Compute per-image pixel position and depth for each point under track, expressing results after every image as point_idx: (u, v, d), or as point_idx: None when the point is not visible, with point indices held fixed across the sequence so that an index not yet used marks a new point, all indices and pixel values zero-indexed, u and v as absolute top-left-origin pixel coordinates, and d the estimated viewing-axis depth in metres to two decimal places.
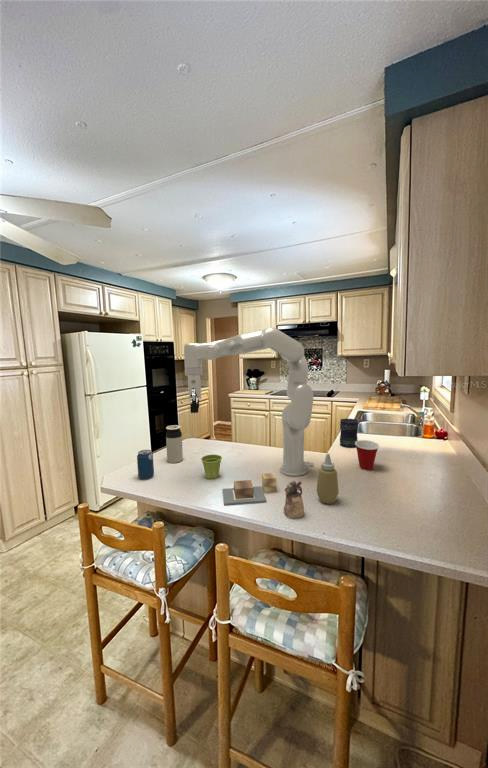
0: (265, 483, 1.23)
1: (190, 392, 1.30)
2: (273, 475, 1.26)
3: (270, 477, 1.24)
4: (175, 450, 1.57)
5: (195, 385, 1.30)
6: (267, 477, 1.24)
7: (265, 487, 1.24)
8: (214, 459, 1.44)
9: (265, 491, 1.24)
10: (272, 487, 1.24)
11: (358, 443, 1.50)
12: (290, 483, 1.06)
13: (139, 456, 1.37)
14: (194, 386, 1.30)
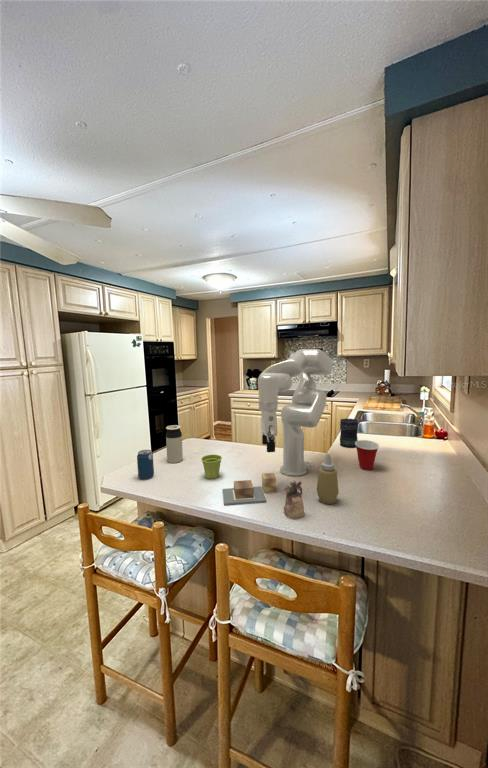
0: (265, 483, 1.23)
1: (267, 430, 1.18)
2: (273, 475, 1.26)
3: (270, 477, 1.24)
4: (175, 450, 1.57)
5: (272, 422, 1.18)
6: (267, 477, 1.24)
7: (265, 487, 1.24)
8: (214, 459, 1.44)
9: (265, 491, 1.24)
10: (272, 487, 1.24)
11: (358, 443, 1.50)
12: (290, 483, 1.06)
13: (139, 456, 1.37)
14: (271, 423, 1.18)
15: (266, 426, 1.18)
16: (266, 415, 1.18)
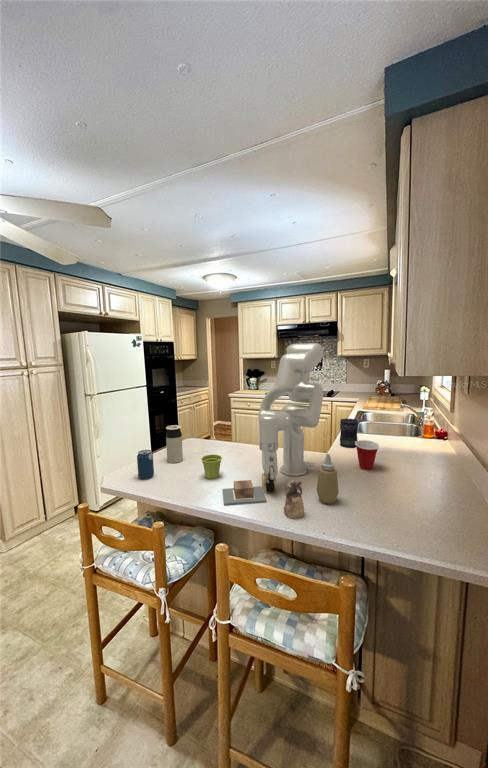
0: (265, 483, 1.23)
1: (267, 473, 1.21)
2: None
3: None
4: (175, 450, 1.57)
5: (273, 462, 1.20)
6: None
7: (265, 487, 1.24)
8: (214, 459, 1.44)
9: (265, 491, 1.24)
10: None
11: (358, 443, 1.50)
12: (290, 483, 1.06)
13: (139, 456, 1.37)
14: (272, 463, 1.20)
15: (267, 466, 1.20)
16: (267, 456, 1.20)
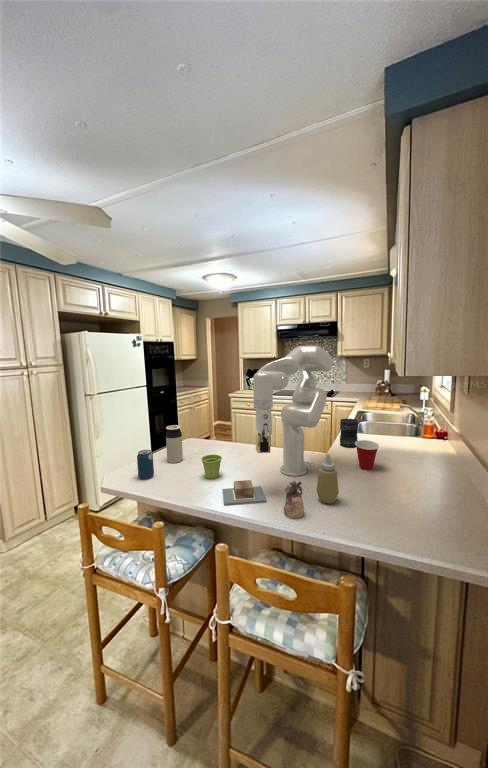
0: (259, 443, 1.20)
1: (261, 431, 1.17)
2: None
3: None
4: (175, 450, 1.57)
5: (267, 420, 1.17)
6: None
7: (259, 447, 1.20)
8: (214, 459, 1.44)
9: (259, 451, 1.20)
10: None
11: (358, 443, 1.50)
12: (290, 483, 1.06)
13: (139, 456, 1.37)
14: (266, 421, 1.17)
15: (261, 424, 1.17)
16: (261, 413, 1.17)
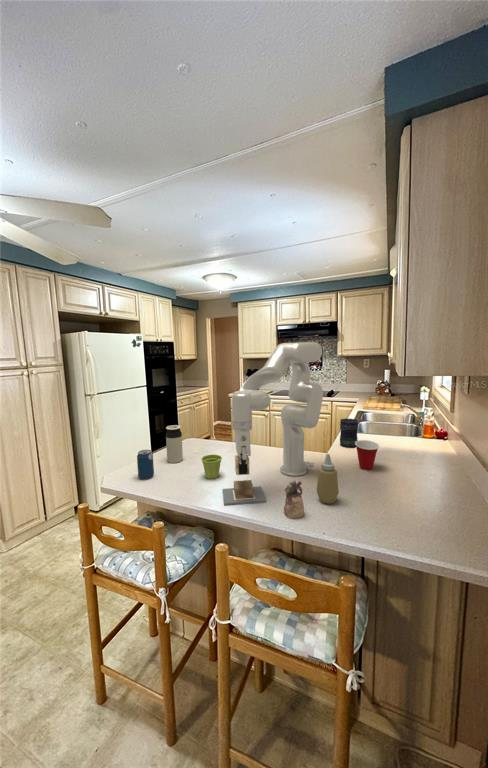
0: (237, 464, 1.17)
1: (239, 453, 1.14)
2: None
3: None
4: (175, 450, 1.57)
5: (245, 442, 1.14)
6: None
7: (237, 469, 1.17)
8: (214, 459, 1.44)
9: (237, 473, 1.17)
10: None
11: (358, 443, 1.50)
12: (290, 483, 1.06)
13: (139, 456, 1.37)
14: (244, 443, 1.14)
15: (239, 446, 1.14)
16: (239, 435, 1.14)
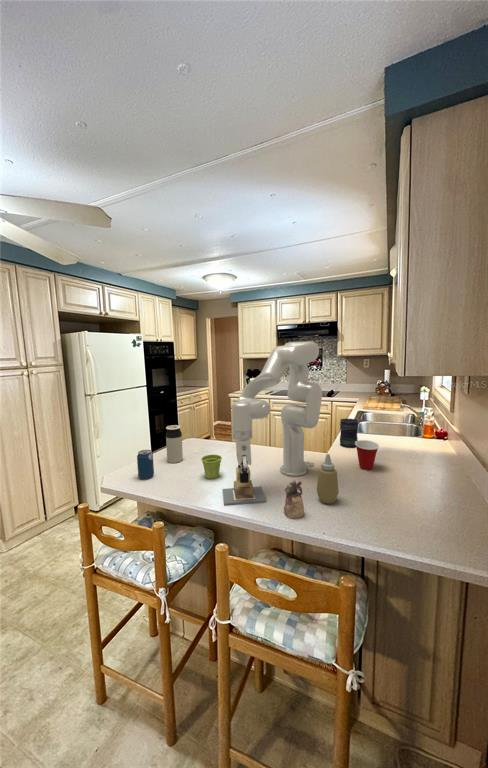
0: (238, 477, 1.18)
1: (240, 461, 1.14)
2: None
3: None
4: (175, 450, 1.57)
5: (246, 451, 1.14)
6: None
7: (238, 481, 1.18)
8: (214, 459, 1.44)
9: (238, 485, 1.18)
10: None
11: (358, 443, 1.50)
12: (290, 483, 1.06)
13: (139, 456, 1.37)
14: (245, 452, 1.14)
15: (239, 456, 1.14)
16: (239, 444, 1.14)
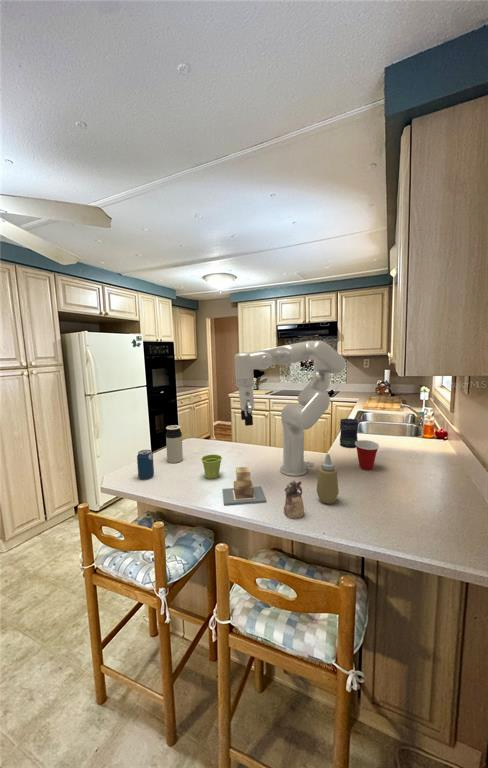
0: (238, 477, 1.18)
1: (244, 404, 1.26)
2: (247, 468, 1.21)
3: (244, 471, 1.19)
4: (175, 450, 1.57)
5: (249, 397, 1.25)
6: (241, 471, 1.19)
7: (238, 481, 1.18)
8: (214, 459, 1.44)
9: (238, 485, 1.18)
10: (246, 481, 1.18)
11: (358, 443, 1.50)
12: (290, 483, 1.06)
13: (139, 456, 1.37)
14: (248, 398, 1.25)
15: (243, 401, 1.25)
16: (243, 391, 1.25)
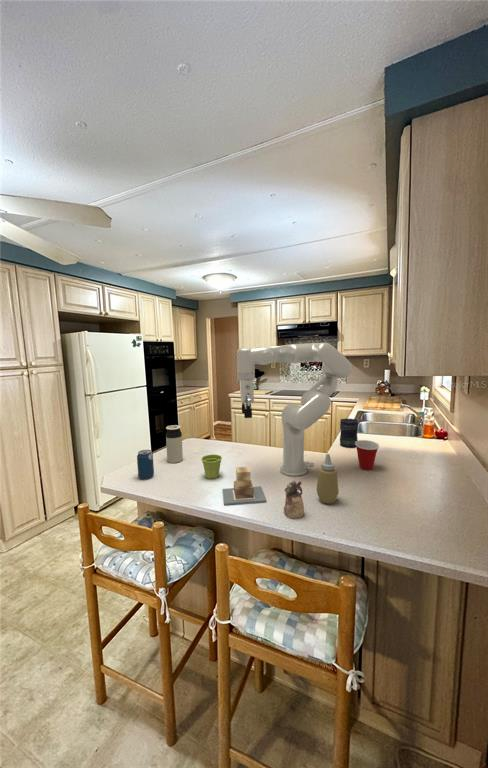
0: (238, 477, 1.18)
1: (244, 397, 1.30)
2: (247, 468, 1.21)
3: (244, 471, 1.19)
4: (175, 450, 1.57)
5: (249, 390, 1.30)
6: (241, 471, 1.19)
7: (238, 481, 1.18)
8: (214, 459, 1.44)
9: (238, 485, 1.18)
10: (246, 481, 1.18)
11: (358, 443, 1.50)
12: (290, 483, 1.06)
13: (139, 456, 1.37)
14: (248, 391, 1.30)
15: (243, 394, 1.30)
16: (243, 384, 1.30)
